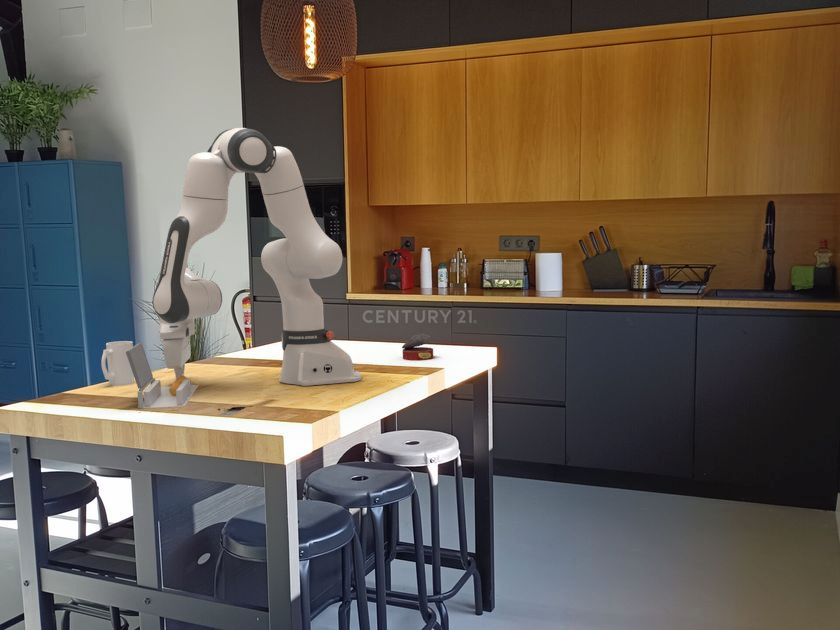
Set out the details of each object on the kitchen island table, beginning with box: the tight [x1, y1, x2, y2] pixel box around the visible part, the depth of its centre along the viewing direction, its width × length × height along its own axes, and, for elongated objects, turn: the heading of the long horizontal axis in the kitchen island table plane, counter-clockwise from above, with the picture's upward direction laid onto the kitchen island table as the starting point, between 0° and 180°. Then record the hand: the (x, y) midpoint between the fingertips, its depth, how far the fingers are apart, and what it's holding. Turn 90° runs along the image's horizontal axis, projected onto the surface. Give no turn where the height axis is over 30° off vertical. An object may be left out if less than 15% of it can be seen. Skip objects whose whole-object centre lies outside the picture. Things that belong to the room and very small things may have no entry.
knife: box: [219, 405, 253, 416], centre depth 185 cm, size 22×1×5 cm
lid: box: [126, 342, 155, 392], centre depth 190 cm, size 10×15×1 cm
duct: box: [136, 377, 199, 414], centre depth 196 cm, size 10×26×5 cm, turn 9°
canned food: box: [401, 333, 434, 362], centre depth 254 cm, size 11×10×10 cm
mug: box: [100, 340, 135, 387], centre depth 213 cm, size 10×7×12 cm, turn 157°
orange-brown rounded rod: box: [169, 375, 189, 396], centre depth 202 cm, size 3×12×3 cm
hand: (180, 380), depth 212 cm, fingers closed
